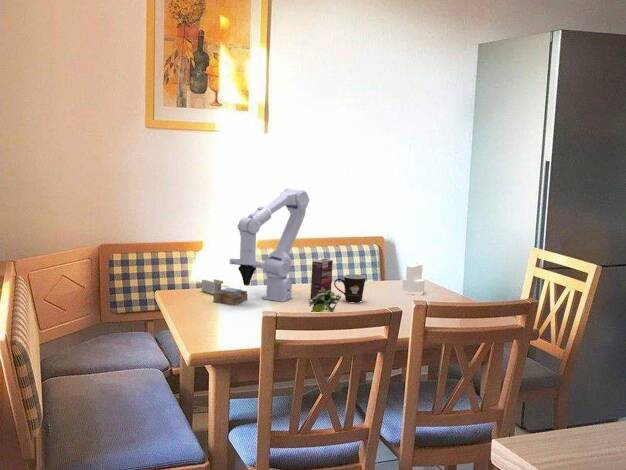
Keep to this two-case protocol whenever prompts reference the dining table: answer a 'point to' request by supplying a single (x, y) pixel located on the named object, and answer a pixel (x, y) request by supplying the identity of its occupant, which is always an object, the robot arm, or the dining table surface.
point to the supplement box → (321, 276)
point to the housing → (230, 298)
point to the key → (211, 286)
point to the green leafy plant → (324, 301)
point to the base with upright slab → (413, 279)
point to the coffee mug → (353, 287)
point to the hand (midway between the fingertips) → (246, 285)
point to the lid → (231, 291)
